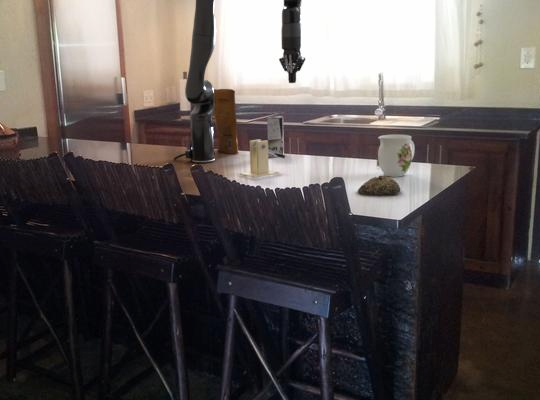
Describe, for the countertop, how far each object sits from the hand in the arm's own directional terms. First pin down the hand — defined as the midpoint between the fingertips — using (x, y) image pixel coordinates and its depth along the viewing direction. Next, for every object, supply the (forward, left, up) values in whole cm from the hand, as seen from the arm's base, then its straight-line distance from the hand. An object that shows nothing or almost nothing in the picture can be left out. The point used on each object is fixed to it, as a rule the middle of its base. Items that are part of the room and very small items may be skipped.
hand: (292, 82), depth 243 cm
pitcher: (+43, -3, -31) cm, 53 cm away
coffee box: (-16, +12, -31) cm, 37 cm away
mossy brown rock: (+49, -29, -31) cm, 65 cm away
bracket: (+2, -26, -31) cm, 40 cm away
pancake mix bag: (-41, +10, -31) cm, 52 cm away
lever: (+3, -23, -23) cm, 33 cm away
